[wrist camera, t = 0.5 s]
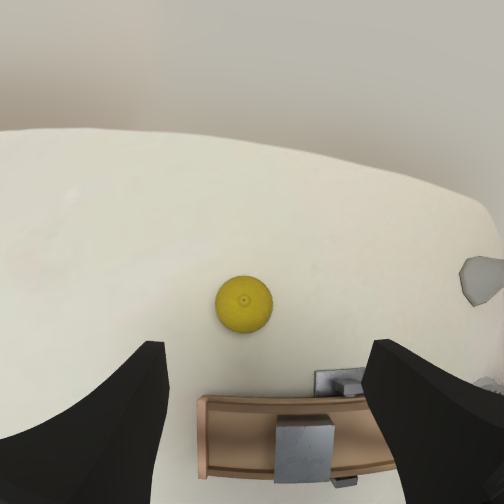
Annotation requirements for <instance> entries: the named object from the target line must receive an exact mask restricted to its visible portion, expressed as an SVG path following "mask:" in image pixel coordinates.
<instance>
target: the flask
mask: <svg viewBox="0 0 504 504" xmlns="http://www.w3.org/2000/svg"><path fill="white" fill-rule="evenodd" d="M460 277H461V282H462V287H463V293H464V294H465V296H466V297H467V298H468V299H469V301H470V302H471V303H472V305H473V306H474V307H475V306H478V305H480V304H483V303H486V302H487V301H489V300H490V299H491V298H492V297H493V296H494V295H495V294H496V293H497V292H498V291H500V290H501V289H502V288H503V287H504V260H502V259H494V258H488V257H482V256H478V257H474V258H469V259H467V261H466V262H465V264H464V266H463V268H462V270H461V271H460Z"/></svg>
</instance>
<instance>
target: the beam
mask: <svg viewBox="0 0 504 504" xmlns="http://www.w3.org/2000/svg"><path fill="white" fill-rule="evenodd" d="M314 414H328V415H329V417H330V418H331V420H332V422H333V423H334V425H335V428H334V441H333V452H332V462H331V472H330V478H336V477H346V476H355V475H363V474H370V473H376V472H382V471H388V470H393V469H397V467H396V464H395V461H394V458H393V456H392V454H391V451H390V449H389V447H388V445H387V443H386V441H385V439H384V437H383V435H382V433H381V431H380V429H379V427H378V425H377V423H376V421H375V419H374V417H373V415H372V413H371V411H370V409H369V407H368V404H367V401H366V398H365V396H364V395H357V396H356V394H350V395H344V397H327V398H242V397H225V396H211V395H203V396H202V397H200V398H199V399H198V400H197V444H198V479H207V477H208V475H209V476H218V477H228V478H241V479H260V480H274V467H275V446H276V422H277V415H314Z"/></svg>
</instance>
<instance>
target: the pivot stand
mask: <svg viewBox="0 0 504 504" xmlns="http://www.w3.org/2000/svg"><path fill="white" fill-rule="evenodd" d="M365 369H366V368H355V369H341V370H323V371H315V388H314V398H327V397H344V395H350V394H356V396H357V395H364V392H363V389H362V386H361V381H362V378H363V375H364V372H365ZM330 481H331V482H332V484H333V485H334V487H335V488H342V487H348V486H354V485H357V481H358V477H357V476H356V475H355V476H346V477H336V478H330Z"/></svg>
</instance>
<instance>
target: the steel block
mask: <svg viewBox="0 0 504 504" xmlns="http://www.w3.org/2000/svg"><path fill="white" fill-rule="evenodd" d="M334 428H335V425H334V423H333V422H332V420H331V418H330V417H329V415H328V414H314V415H277V422H276V446H275V467H274V483H314V482H329V480H330V472H331V462H332V452H333V441H334Z"/></svg>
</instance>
